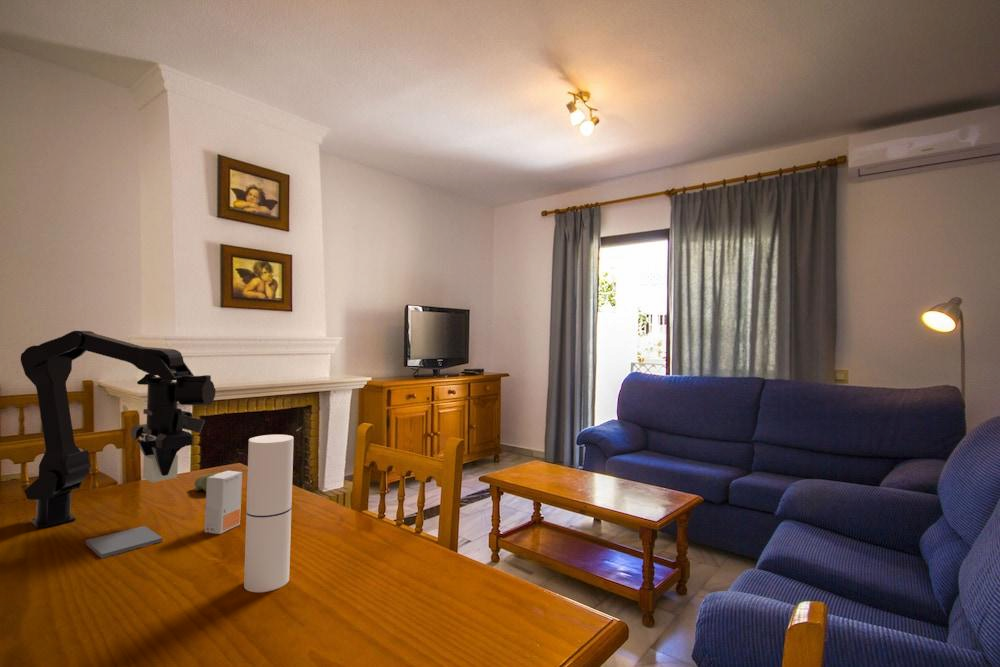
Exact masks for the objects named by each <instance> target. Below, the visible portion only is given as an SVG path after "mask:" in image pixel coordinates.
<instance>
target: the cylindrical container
mask: <svg viewBox="0 0 1000 667" xmlns="http://www.w3.org/2000/svg"><path fill="white" fill-rule="evenodd" d="M294 441H295V440H294V436H293V435H290V434H289V435H288V434H266V435H265V434H264V435H258V436H254V437H250V438H249V439H248V446H247V447H248V451H247V452H248V453H247V454H248V455H247V478H246V480H247V485H246V486H247V487H246V512H245V513H246V517H245V544H244V546H245V548H244V574H243V575H244V577H243V587H244V589H245V590H246V591H248V592H250V593H251V592H252V593H266V592H271V591H275V590H277V589H280V588H282V587H284V586H285V585H286V584H288V582H289V581H290V567H291V566H290V562H291V560H290V559H291V538H292V537H291V535H292V534H291V531H292V530H291V527H292V506H293V505H292V502H293V501H292V500H293V497H292V496H293V471H294V470H293V466H294Z"/></svg>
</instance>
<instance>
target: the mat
mask: <svg viewBox="0 0 1000 667" xmlns="http://www.w3.org/2000/svg"><path fill="white" fill-rule="evenodd" d="M158 542H160V543H163V537H162V536H160V535H159V534H158V533H156V532H154V531H153V530H152V529H150V528H149V527H147V526H145V525H142V526H139V527H134V528H131V529H125V530H122V531H118V532H113V533H109V534H106V535H102V536H97V537H94V538H89V539H86V540H85V545H86V546H87V547H88V548H89V549H90V550H92V551H93V552H94V553H95V554H96V555H97V557H99V558H100V559H104V558H109V557H113V556H116V555H119V553H120V554H123V553H126V552H125V551H127V552H129V551H128V550H131V551H133V550H132V549H134V550H136V549H135V548H138V549H140V548H139V547H142V548H144V547H143V546H145V547H148V546H147V545H149V546H151V545H150V544H153V545H155V544H154V543H156V544H159V543H158ZM122 552H123V553H122ZM112 555H113V556H112Z"/></svg>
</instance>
